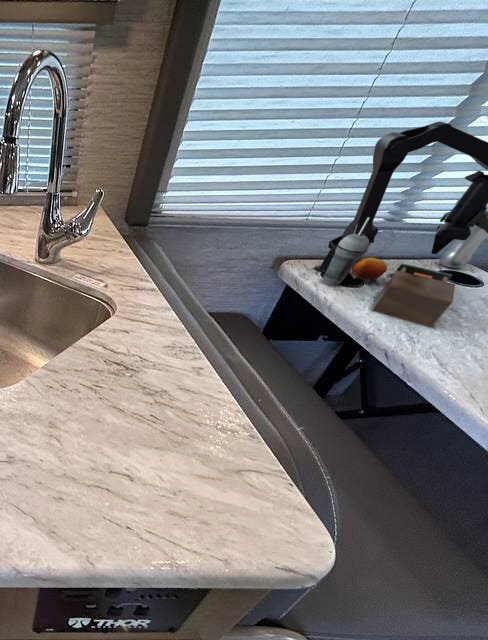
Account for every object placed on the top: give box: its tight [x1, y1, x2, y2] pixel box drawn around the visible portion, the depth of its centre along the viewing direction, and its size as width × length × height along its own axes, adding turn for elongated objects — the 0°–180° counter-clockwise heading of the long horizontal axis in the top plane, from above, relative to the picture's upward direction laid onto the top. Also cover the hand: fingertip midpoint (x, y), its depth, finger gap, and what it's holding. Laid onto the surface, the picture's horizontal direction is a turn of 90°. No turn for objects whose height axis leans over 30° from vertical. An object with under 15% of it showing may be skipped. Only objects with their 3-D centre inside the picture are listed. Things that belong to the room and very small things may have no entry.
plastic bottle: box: [438, 205, 488, 269], centre depth 124 cm, size 6×7×20 cm
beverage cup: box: [321, 218, 370, 287], centre depth 117 cm, size 7×7×20 cm
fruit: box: [350, 256, 388, 284], centre depth 123 cm, size 8×8×8 cm
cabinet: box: [372, 270, 456, 328], centre depth 108 cm, size 14×13×8 cm
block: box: [414, 272, 433, 279], centre depth 114 cm, size 4×4×4 cm
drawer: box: [392, 262, 453, 282], centre depth 115 cm, size 17×11×6 cm
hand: (433, 253), depth 117 cm, fingers closed
